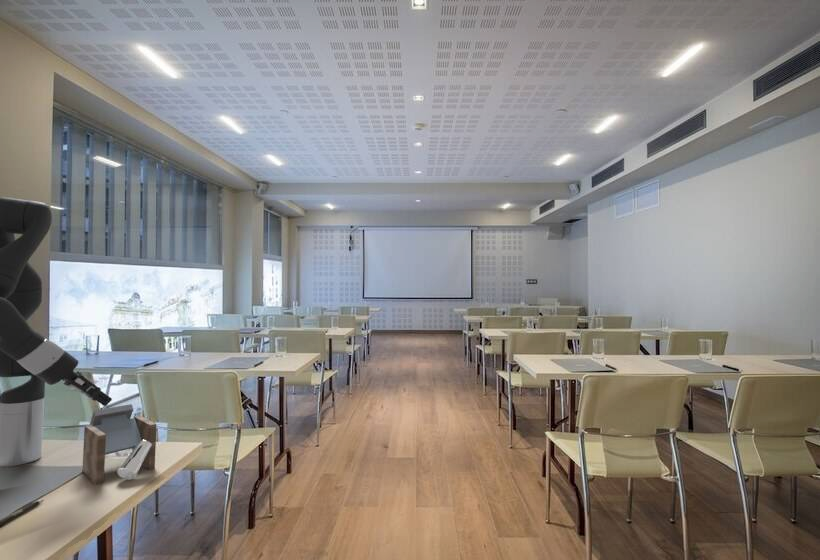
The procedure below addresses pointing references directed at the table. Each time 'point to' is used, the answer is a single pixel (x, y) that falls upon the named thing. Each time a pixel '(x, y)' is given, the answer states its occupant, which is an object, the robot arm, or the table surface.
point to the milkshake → (134, 460)
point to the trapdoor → (117, 428)
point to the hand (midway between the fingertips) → (103, 400)
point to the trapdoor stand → (96, 448)
